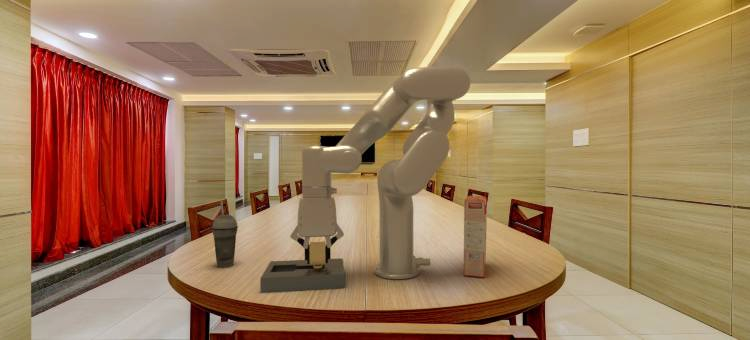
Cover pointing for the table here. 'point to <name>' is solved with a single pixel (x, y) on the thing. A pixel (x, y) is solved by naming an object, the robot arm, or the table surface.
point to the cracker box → (475, 236)
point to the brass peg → (317, 254)
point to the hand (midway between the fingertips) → (317, 261)
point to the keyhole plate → (302, 276)
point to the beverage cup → (224, 239)
